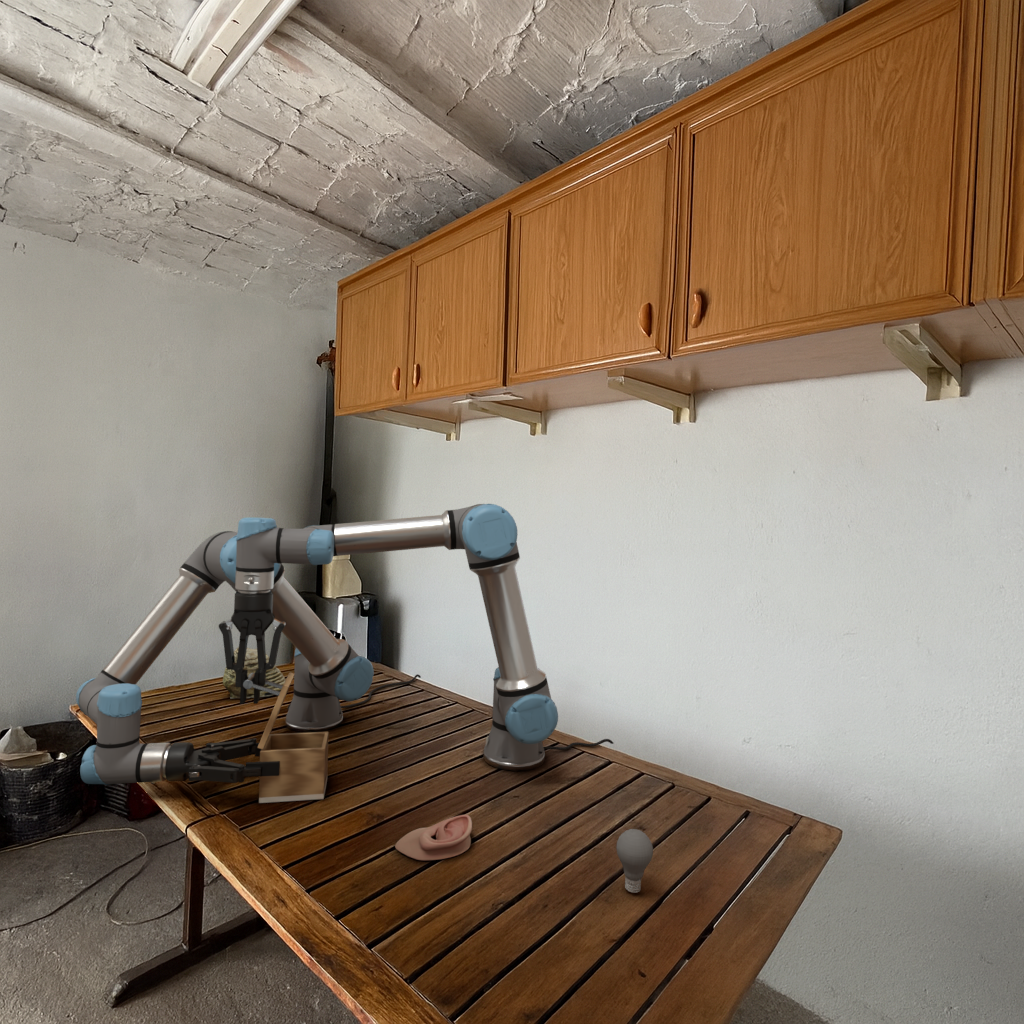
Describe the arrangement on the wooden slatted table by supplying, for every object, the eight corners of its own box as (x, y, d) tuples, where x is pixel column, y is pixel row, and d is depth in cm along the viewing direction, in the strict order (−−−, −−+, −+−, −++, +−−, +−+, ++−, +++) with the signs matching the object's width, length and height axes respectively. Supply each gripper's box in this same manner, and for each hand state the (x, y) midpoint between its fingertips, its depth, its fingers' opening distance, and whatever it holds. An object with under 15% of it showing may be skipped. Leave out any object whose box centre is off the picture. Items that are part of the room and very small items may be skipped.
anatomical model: (389, 833, 113) (412, 803, 124) (388, 855, 113) (411, 823, 124) (460, 844, 110) (477, 813, 121) (459, 867, 110) (476, 833, 121)
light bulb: (610, 879, 108) (613, 822, 108) (644, 879, 109) (647, 822, 109) (619, 902, 102) (622, 840, 102) (655, 901, 103) (658, 840, 103)
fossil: (218, 695, 195) (220, 647, 195) (278, 685, 208) (279, 640, 207) (228, 703, 189) (230, 653, 188) (289, 692, 201) (290, 645, 201)
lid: (294, 673, 140) (255, 660, 138) (288, 686, 131) (246, 673, 129) (270, 732, 139) (231, 719, 138) (262, 749, 130) (220, 736, 128)
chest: (327, 778, 142) (328, 731, 142) (323, 798, 133) (324, 748, 132) (267, 782, 139) (268, 734, 139) (258, 803, 130) (259, 751, 130)
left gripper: (185, 758, 142) (289, 754, 146) (149, 805, 120) (273, 800, 124) (186, 724, 142) (291, 722, 146) (150, 766, 120) (275, 762, 124)
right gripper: (211, 593, 128) (206, 708, 129) (289, 594, 131) (284, 706, 132) (220, 587, 135) (216, 696, 136) (294, 588, 139) (289, 695, 139)
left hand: (283, 758), depth 135 cm, fingers closed on chest, 10 cm apart
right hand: (249, 701), depth 134 cm, fingers closed on lid, 2 cm apart
